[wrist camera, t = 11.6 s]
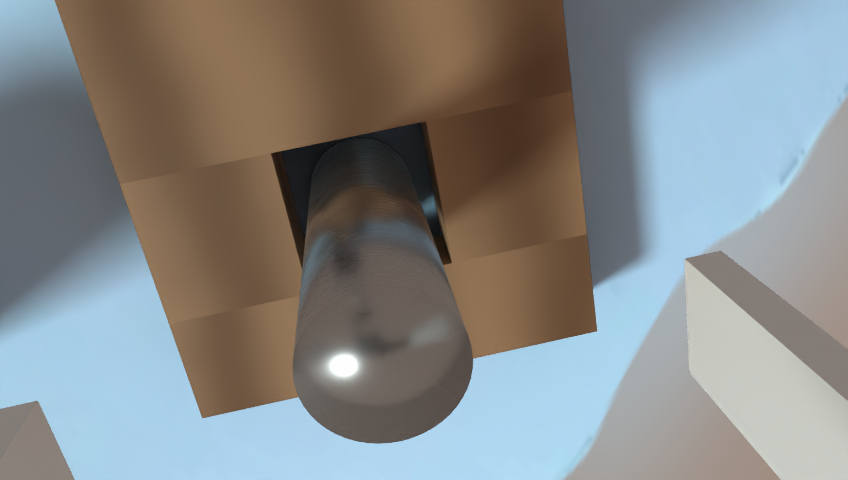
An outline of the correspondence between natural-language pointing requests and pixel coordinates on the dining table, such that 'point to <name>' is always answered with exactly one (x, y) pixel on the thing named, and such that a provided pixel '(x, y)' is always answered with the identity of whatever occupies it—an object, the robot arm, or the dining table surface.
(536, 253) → the socket board
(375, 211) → the peg
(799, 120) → the dining table surface
